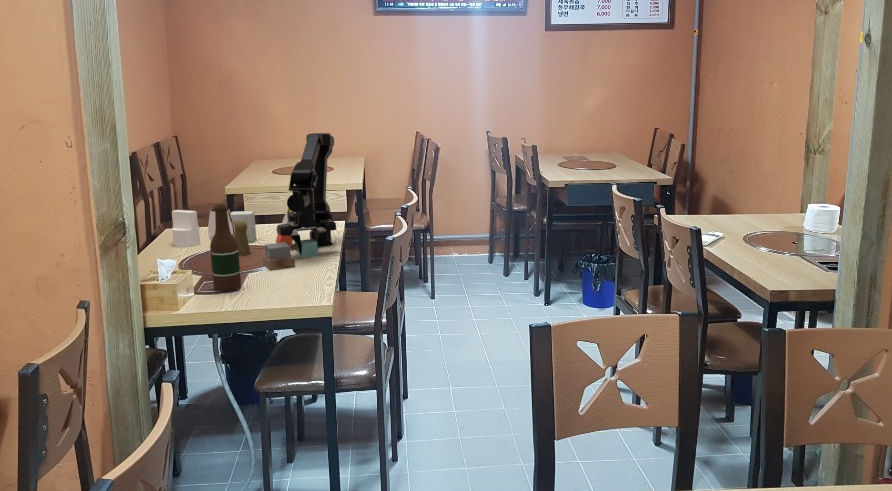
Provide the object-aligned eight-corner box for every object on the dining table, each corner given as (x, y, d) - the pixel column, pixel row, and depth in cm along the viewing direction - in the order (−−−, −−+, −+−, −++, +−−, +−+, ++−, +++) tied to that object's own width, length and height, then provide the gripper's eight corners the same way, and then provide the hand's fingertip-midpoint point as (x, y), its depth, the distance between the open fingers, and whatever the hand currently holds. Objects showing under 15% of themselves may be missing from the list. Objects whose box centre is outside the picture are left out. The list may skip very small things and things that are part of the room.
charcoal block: (285, 252, 246) (284, 242, 245) (290, 257, 240) (290, 246, 239) (265, 255, 243) (264, 244, 242) (270, 259, 238) (269, 248, 237)
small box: (256, 239, 280) (254, 210, 278) (253, 242, 275) (251, 213, 272) (234, 239, 280) (232, 211, 277) (230, 243, 274) (228, 214, 272)
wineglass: (214, 279, 228) (209, 213, 223) (209, 273, 235) (203, 209, 230) (241, 275, 232) (236, 210, 227) (235, 269, 238) (230, 206, 234)
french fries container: (276, 246, 260) (295, 197, 259) (274, 239, 271) (292, 192, 269) (289, 250, 262) (308, 202, 260) (286, 243, 272) (305, 196, 270)
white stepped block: (168, 246, 271) (164, 212, 268) (185, 240, 279) (182, 208, 276) (188, 248, 268) (185, 214, 265) (205, 242, 276) (202, 209, 273)
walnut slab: (288, 262, 248) (287, 252, 247) (295, 268, 241) (294, 257, 240) (263, 265, 244) (262, 255, 243) (269, 271, 237) (269, 260, 236)
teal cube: (313, 253, 258) (312, 238, 257) (317, 256, 253) (317, 241, 252) (298, 255, 256) (297, 240, 254) (303, 258, 251) (302, 243, 250)
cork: (245, 256, 255) (243, 223, 252) (228, 255, 256) (226, 223, 254) (253, 252, 261) (251, 220, 258) (237, 251, 262) (234, 219, 259)
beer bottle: (216, 284, 223) (209, 203, 217) (243, 283, 223) (237, 202, 218) (210, 292, 215) (203, 208, 210) (238, 291, 216) (232, 207, 210)
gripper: (325, 200, 262) (327, 244, 265) (270, 205, 254) (274, 251, 257) (335, 205, 252) (338, 251, 256) (279, 210, 244) (282, 258, 248)
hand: (308, 252), depth 254 cm, fingers closed on teal cube, 5 cm apart
